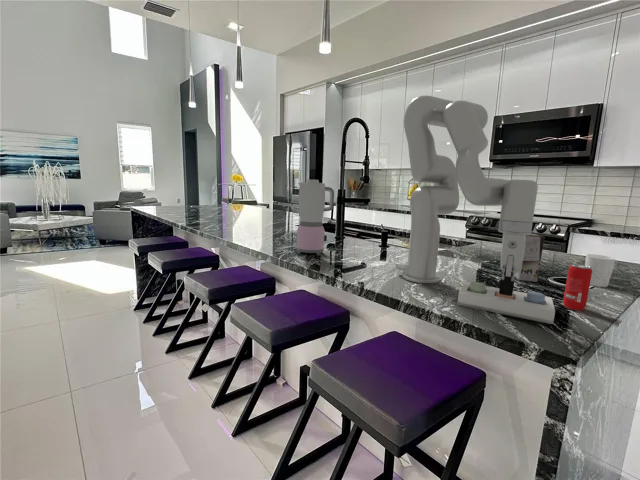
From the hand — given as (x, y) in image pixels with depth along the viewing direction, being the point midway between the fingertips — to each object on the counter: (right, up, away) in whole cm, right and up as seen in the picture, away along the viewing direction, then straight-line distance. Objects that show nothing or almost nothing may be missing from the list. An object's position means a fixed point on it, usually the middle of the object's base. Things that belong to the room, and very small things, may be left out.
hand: (505, 294), depth 93 cm
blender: (-53, +9, +59) cm, 80 cm away
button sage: (-6, 0, +4) cm, 7 cm away
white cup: (+47, -1, +28) cm, 54 cm away
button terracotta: (0, -3, +1) cm, 3 cm away
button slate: (+6, -2, -3) cm, 7 cm away
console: (0, -4, +1) cm, 4 cm away
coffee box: (+24, +1, +33) cm, 41 cm away
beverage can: (+21, -4, +3) cm, 21 cm away
